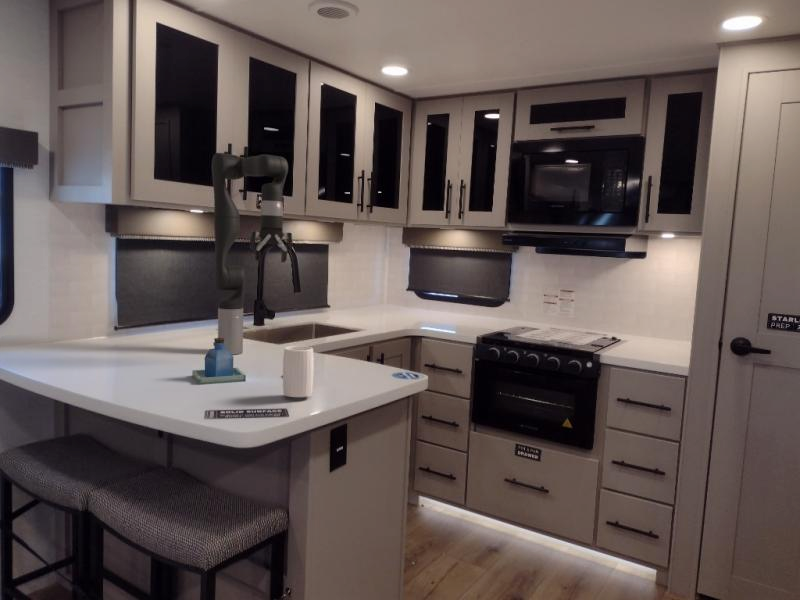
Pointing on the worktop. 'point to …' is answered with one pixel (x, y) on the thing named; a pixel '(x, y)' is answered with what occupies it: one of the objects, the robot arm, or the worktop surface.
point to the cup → (298, 371)
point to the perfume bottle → (218, 360)
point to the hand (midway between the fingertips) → (270, 262)
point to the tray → (201, 379)
